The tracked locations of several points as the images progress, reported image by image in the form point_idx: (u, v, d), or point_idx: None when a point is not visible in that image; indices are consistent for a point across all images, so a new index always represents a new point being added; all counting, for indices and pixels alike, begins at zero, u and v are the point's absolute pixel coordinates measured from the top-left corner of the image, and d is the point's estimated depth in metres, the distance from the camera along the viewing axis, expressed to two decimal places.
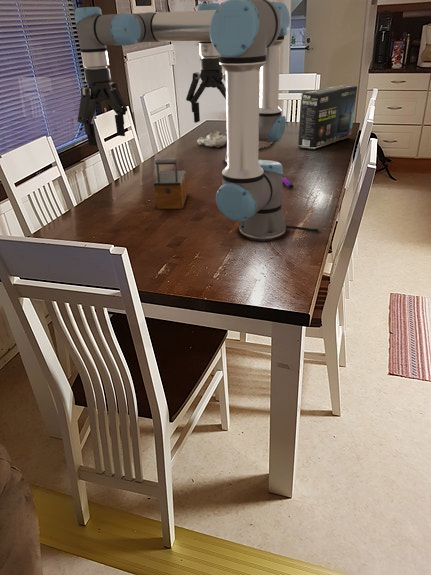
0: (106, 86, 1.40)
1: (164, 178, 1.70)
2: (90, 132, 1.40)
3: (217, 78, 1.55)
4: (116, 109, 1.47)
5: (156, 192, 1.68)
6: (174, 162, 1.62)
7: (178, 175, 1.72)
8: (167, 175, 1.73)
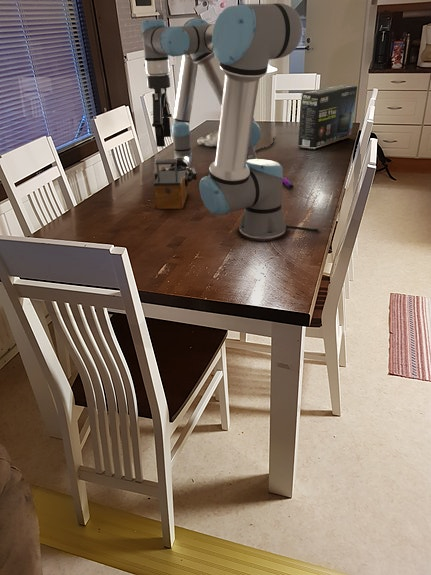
0: (163, 91, 1.53)
1: (164, 178, 1.70)
2: (161, 134, 1.51)
3: None
4: (165, 112, 1.60)
5: (156, 192, 1.68)
6: (174, 162, 1.62)
7: (178, 175, 1.72)
8: (167, 175, 1.73)
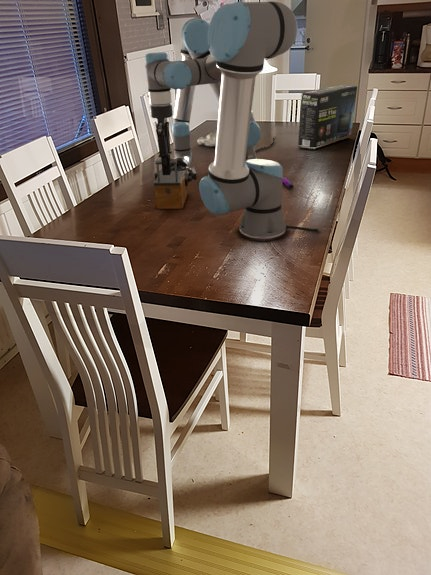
0: (166, 120, 1.58)
1: (164, 178, 1.70)
2: (167, 164, 1.61)
3: None
4: (166, 146, 1.62)
5: (156, 192, 1.68)
6: (174, 162, 1.62)
7: (178, 175, 1.72)
8: (167, 175, 1.73)
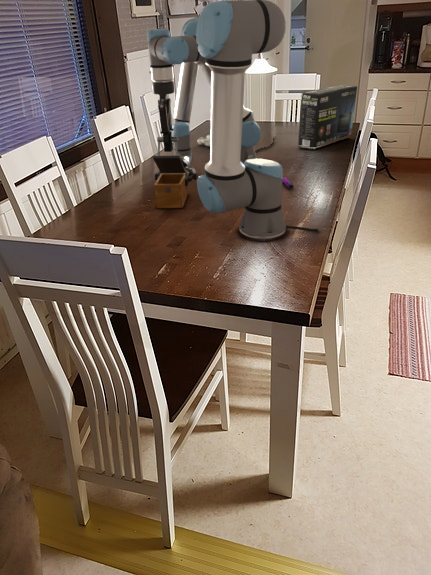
0: (168, 96, 1.61)
1: None
2: (168, 140, 1.65)
3: None
4: None
5: (156, 191, 1.68)
6: (176, 138, 1.65)
7: None
8: None
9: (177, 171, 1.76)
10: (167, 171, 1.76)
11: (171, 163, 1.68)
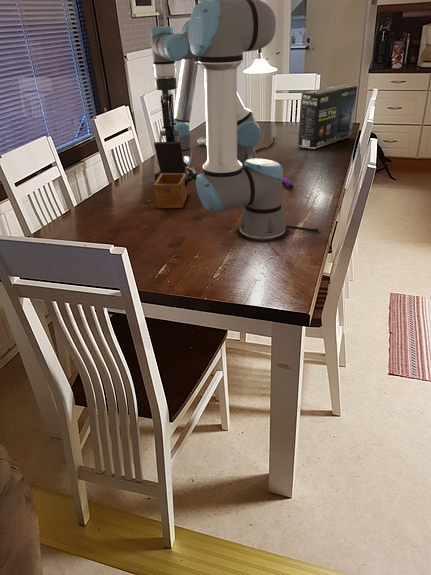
0: (170, 92, 1.65)
1: None
2: (170, 135, 1.69)
3: None
4: (170, 118, 1.70)
5: (156, 191, 1.68)
6: (178, 131, 1.70)
7: None
8: None
9: (177, 169, 1.76)
10: (167, 169, 1.76)
11: (172, 153, 1.69)
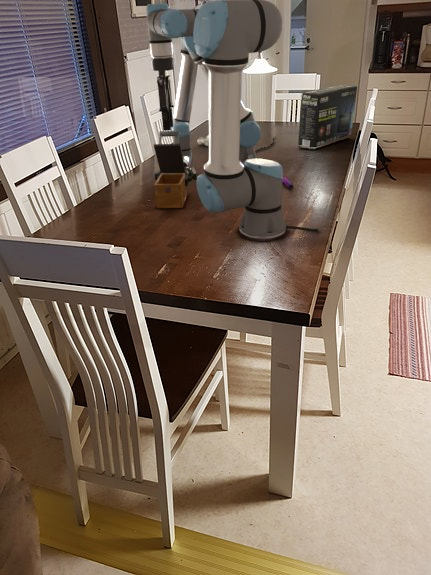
0: (167, 74, 1.59)
1: None
2: (167, 118, 1.61)
3: None
4: (167, 100, 1.64)
5: (156, 191, 1.68)
6: (177, 131, 1.69)
7: None
8: None
9: (177, 169, 1.76)
10: (167, 169, 1.76)
11: (172, 155, 1.69)
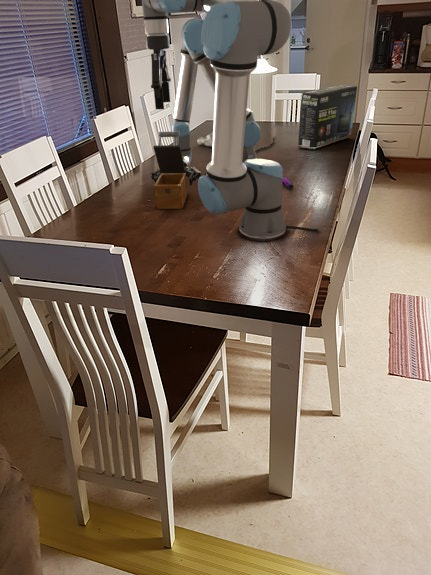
0: (163, 53, 1.51)
1: None
2: (160, 96, 1.49)
3: None
4: (164, 76, 1.58)
5: (156, 192, 1.68)
6: (177, 132, 1.68)
7: None
8: None
9: (177, 170, 1.76)
10: (167, 170, 1.76)
11: (171, 156, 1.68)
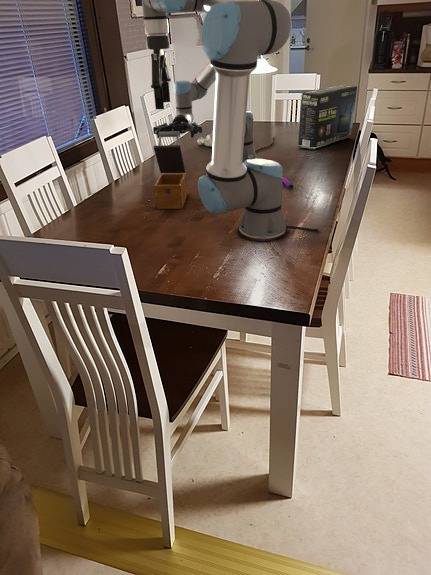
0: (163, 53, 1.51)
1: None
2: (160, 96, 1.49)
3: None
4: (164, 76, 1.58)
5: (156, 192, 1.68)
6: (177, 132, 1.68)
7: None
8: None
9: (177, 170, 1.76)
10: (167, 170, 1.76)
11: (171, 156, 1.68)
